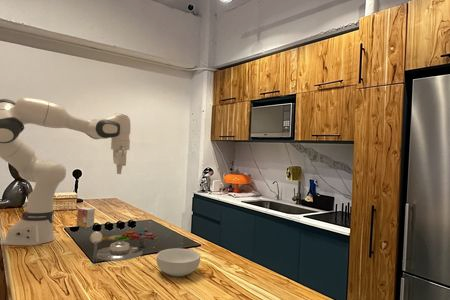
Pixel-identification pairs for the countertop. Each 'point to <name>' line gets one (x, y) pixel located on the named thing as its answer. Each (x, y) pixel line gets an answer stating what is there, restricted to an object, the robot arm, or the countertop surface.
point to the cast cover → (119, 248)
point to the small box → (85, 217)
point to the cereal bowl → (178, 261)
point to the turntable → (133, 253)
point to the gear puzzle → (132, 236)
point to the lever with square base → (95, 243)
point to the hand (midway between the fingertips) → (118, 173)
